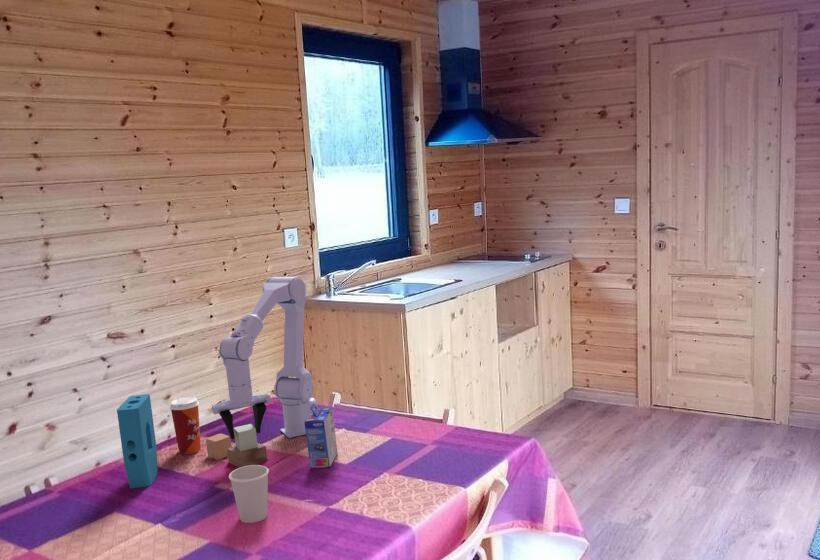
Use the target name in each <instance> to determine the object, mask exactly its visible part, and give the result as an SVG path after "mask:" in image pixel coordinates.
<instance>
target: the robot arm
mask: <svg viewBox="0 0 820 560" xmlns="http://www.w3.org/2000/svg"><path fill="white" fill-rule="evenodd" d="M306 288H307V285H306V283H305V282H304V281H303V279H302V278H301V277H300V276H269V277H267V278H266V280H265V282H264V283H263V284H262V294H261V295H260V297H259V299H258V301H257V303H256V304H255V306H254V308H253V310H252V311H251V313H249V314H248V313H247V314H245V315H243V316H241V318H240V319H241V320H240V321H239V323H238V324H237V326H236V327H235V328H234V330H233V331H232V333H231V334H230V336H226V337H225V338H224V339H223V340H222V341H221V342H220V343H219V349H218V354H219V357H220V358H221V360H222V362H223V365H224V367H225V371H226V381H227V387H228V388H227V389H228V396H229V397H228V399H229V400H227V401H226V400H225V401H224V402H220V403H219V402H218V403H216V404H212V405H211V408H212V409H211V410H212V414H214V415H218V414H219V416H220V417H221V419H222V421H223V422H224V424H225V427H226V429H227V432H228V436H230V438H231V440H235V435H234V422H233V421H234V416H233V414H232V412H231V411H234V410H239V409H243V408H249V407H251V408H252V412H253V419H254V427H255V428H256V434H261V428H262V423H263V419H264V416H265V413H266V411H267V405H266V404H271V403H272V401H271V395H270V394H269V393H265V394H259V395H258V394H257V395H253V389H252V378H251V370H250V361H249V358H250V357H251V356H252V355H253V351H254V350H253V349H254V345H255V341H256V339H257V338H258V336H259V335H260V333H261V332H262V330H263V329H264V323H263V321H264V320H265V318H266V317H267V316H268V315H269V313H270V312H271V311H272V310H273V309H274V307H275V306H276V304H277V305H278V306H279V307H281V308H282V309H283V310H284V338H283V339H284V341H283V345H284V346H283V367H282V368H281V369H280V370H279V371H277V373H276V379H275V382H274V386H273V387H274V388H273V389H274V395H275V397H276V398H277V399H278V400H279V403H282V404H281V405H282V414H283V423H284V425H283V426H284V427H283V428H280V432H281V433H283V434H284V435H285V436H286V437H287V438H288V439H292V438H295V437H300V436H304V435H305V436H306V431H305V423H304V422H305V420H306V419H307V417H308V416H309V414H310V413H311V411H312V410H311V409H310V407H311V406H312V404H313V403H314V404H315V405H316V407H317V408H319V407H318V403H317V401H316V399H315V398H314V397H312V396H313V394H314V390H315V389H314V383H313V380H312V373H311V372H310V371H309V370H307V368H305V367H304V343H305V342H304V338H305V337H304V335H305V334H304V332H305V330H304V329H305V327H304V326H305V305H306V294H307V293H306ZM314 409H316V408H315V407H314Z"/></svg>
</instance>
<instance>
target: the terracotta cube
mask: <svg viewBox="0 0 820 560" xmlns="http://www.w3.org/2000/svg"><path fill="white" fill-rule="evenodd" d="M205 442H206V443H205V444H206V452H207V456H208V458H211V459H214V460H217V461H218V460H220V459H224V458H226V457H227V458H228V452H227V449H228V448H231V447H232V439H231V438H230V435H228V434H227V435H226V434H224V433H217V434H215V435H214V434H213V435H212V436H209V437H207V438H205Z"/></svg>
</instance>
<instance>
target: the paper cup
mask: <svg viewBox="0 0 820 560" xmlns="http://www.w3.org/2000/svg"><path fill="white" fill-rule="evenodd" d="M199 405H200V402H199V401H198V398H197V397H193V396H187V397H186V396H185V397H179V398H177V399H176V398H175V399H173V400H172V401H171V402H170V406H169V409H170V411H171V417H172V421H173V428H174V432H175V438H176V444H177V448H178V453H179V454H180V455H192V454H195V453H198V452H200V451H201V431H200V415H199V414H200V413H199V412H200V411H199Z"/></svg>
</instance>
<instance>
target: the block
mask: <svg viewBox="0 0 820 560" xmlns="http://www.w3.org/2000/svg"><path fill="white" fill-rule="evenodd" d="M116 413H117V420H118V429H119V437H120V442H121V452H122V457H123V464H124V465H123V466H124V468H125V474H126V476H127V482H128V484H129V489H139V488H146V487H149V486H152V484H153V482H154V481H155V479H156V478H157V476H158V475H159V472H158V471H159V468H158V466H159V465H158V454H157V453H158V451H157V449H158V448H157V440H156V433H155V432H156V431H155V425H154V419H153V409H152V402H151V396H150V394H149V393H148V394H146V393H145V394H136V395H131V396H130V395H129V396H128V398H127V399H125V400H124V401H123V403H122V404H121V405H119V406H118V407H117V409H116Z"/></svg>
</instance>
